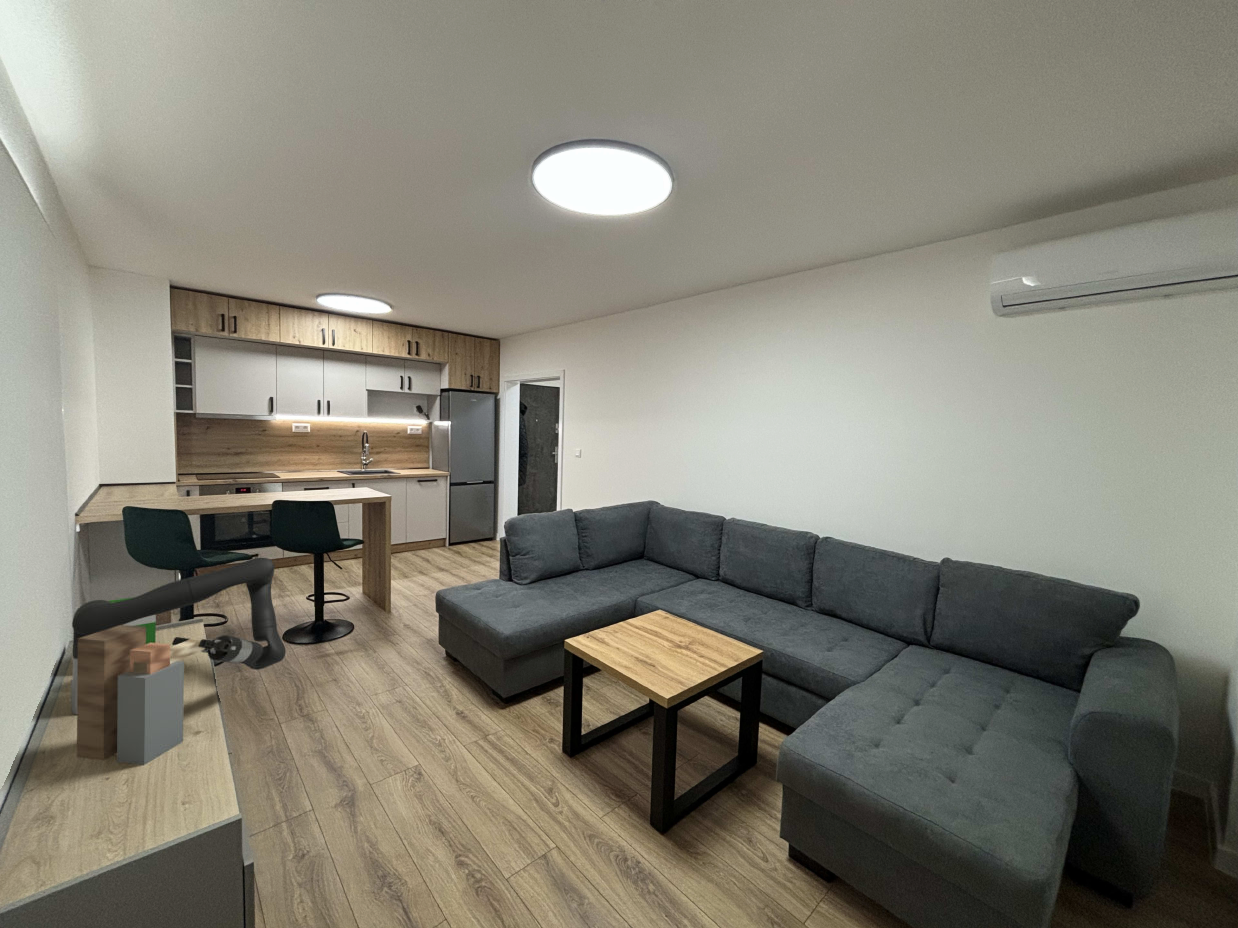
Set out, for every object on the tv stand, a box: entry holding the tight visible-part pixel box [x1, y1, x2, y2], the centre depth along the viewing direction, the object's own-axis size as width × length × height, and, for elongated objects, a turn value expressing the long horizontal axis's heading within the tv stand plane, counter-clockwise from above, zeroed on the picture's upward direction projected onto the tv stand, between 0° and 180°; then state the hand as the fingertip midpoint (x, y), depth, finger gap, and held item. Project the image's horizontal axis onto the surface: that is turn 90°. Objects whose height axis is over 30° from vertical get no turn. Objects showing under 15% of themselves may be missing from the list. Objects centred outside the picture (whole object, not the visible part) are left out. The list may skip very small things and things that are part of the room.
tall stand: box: [76, 625, 146, 761], centre depth 130 cm, size 10×8×32 cm
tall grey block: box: [116, 660, 185, 765], centre depth 129 cm, size 10×8×23 cm
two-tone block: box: [130, 637, 205, 674], centre depth 134 cm, size 16×6×6 cm, turn 174°
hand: (187, 641), depth 139 cm, fingers open, 8 cm apart
